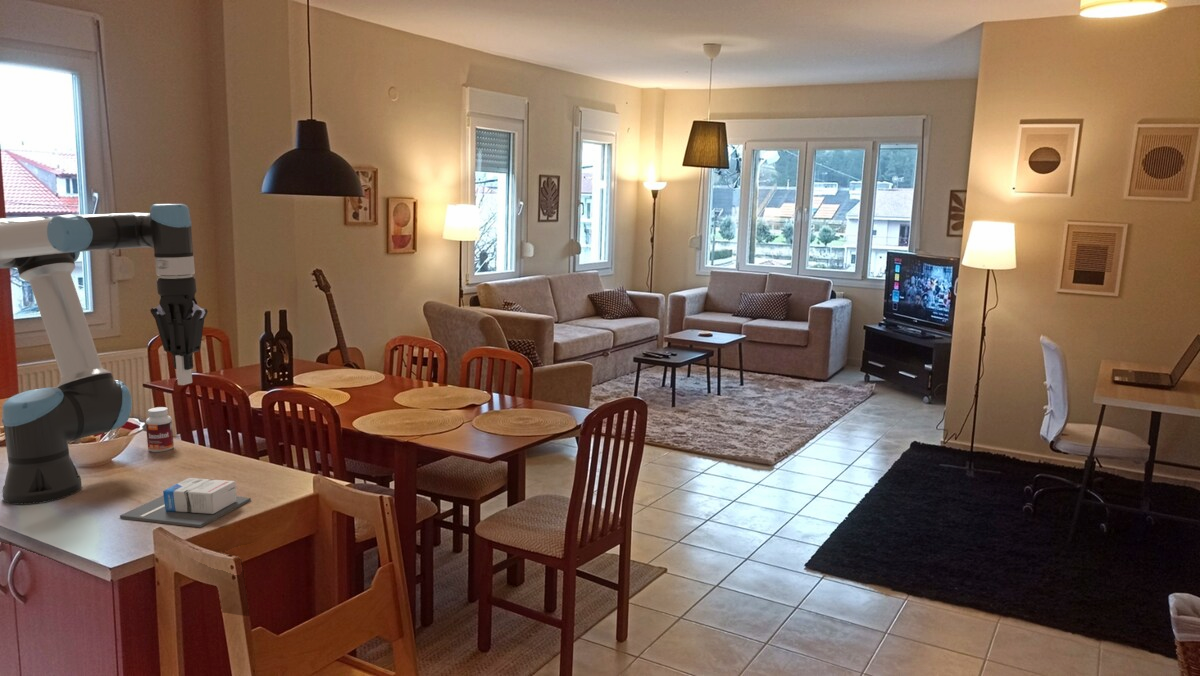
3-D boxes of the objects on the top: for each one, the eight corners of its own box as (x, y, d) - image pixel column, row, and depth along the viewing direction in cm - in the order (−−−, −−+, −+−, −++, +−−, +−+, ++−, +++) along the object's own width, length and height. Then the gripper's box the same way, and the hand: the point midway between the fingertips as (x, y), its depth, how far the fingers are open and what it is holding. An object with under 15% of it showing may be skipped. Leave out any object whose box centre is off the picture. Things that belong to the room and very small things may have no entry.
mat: (120, 518, 181) (119, 514, 180) (175, 492, 196) (175, 489, 196) (200, 527, 175) (200, 524, 175) (250, 500, 191) (250, 497, 191)
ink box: (164, 511, 182) (212, 516, 180) (162, 489, 182) (211, 493, 179) (191, 497, 191) (238, 501, 188) (189, 476, 190) (236, 480, 187)
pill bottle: (146, 453, 225) (142, 413, 223) (149, 447, 230) (145, 407, 228) (173, 451, 227) (169, 410, 225) (175, 444, 233) (171, 405, 231)
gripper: (137, 277, 182) (147, 385, 186) (189, 278, 178) (198, 389, 182) (163, 274, 189) (172, 378, 193) (213, 275, 185) (222, 381, 189)
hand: (185, 383), depth 188 cm, fingers closed
